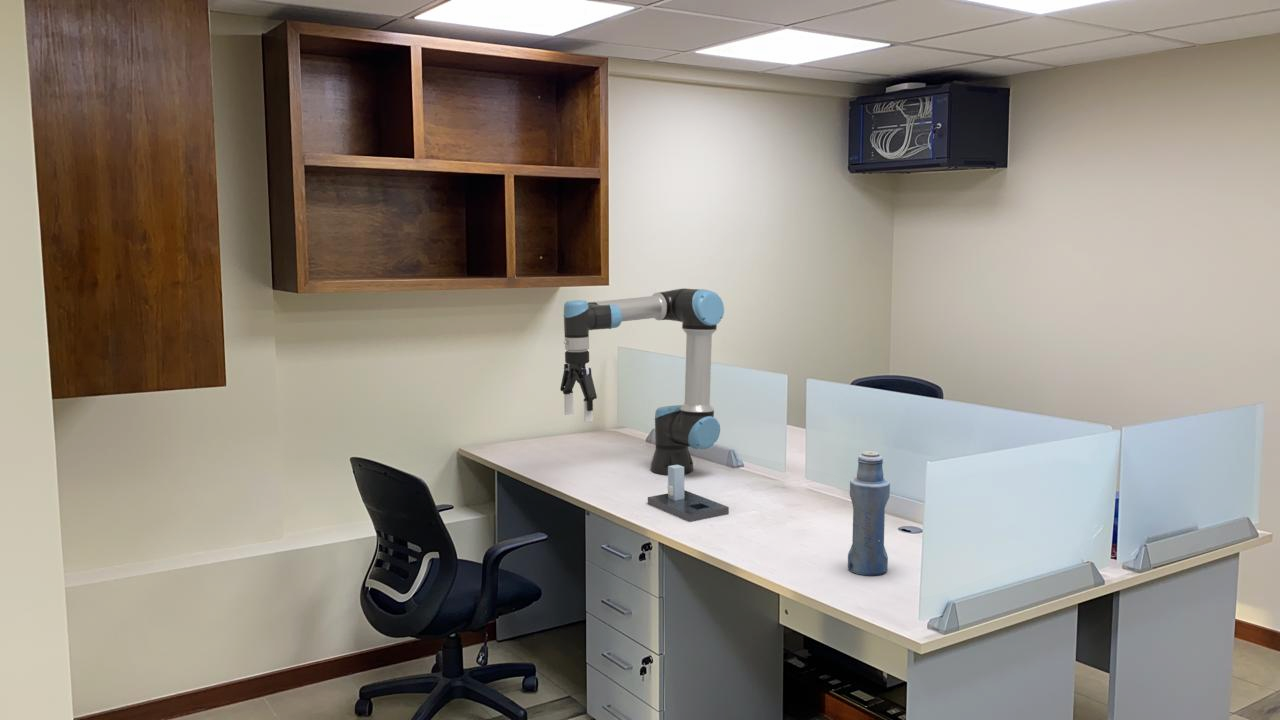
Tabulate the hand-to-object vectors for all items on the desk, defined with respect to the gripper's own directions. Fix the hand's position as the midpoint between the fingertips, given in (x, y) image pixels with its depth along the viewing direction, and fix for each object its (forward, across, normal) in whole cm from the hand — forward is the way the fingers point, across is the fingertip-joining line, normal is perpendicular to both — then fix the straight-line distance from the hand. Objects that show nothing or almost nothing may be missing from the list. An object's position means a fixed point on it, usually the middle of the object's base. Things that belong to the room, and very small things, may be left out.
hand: (578, 417), depth 313 cm
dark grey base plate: (+27, +29, +22) cm, 45 cm away
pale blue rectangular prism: (+26, +23, +21) cm, 41 cm away
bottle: (+27, +97, +31) cm, 105 cm away
